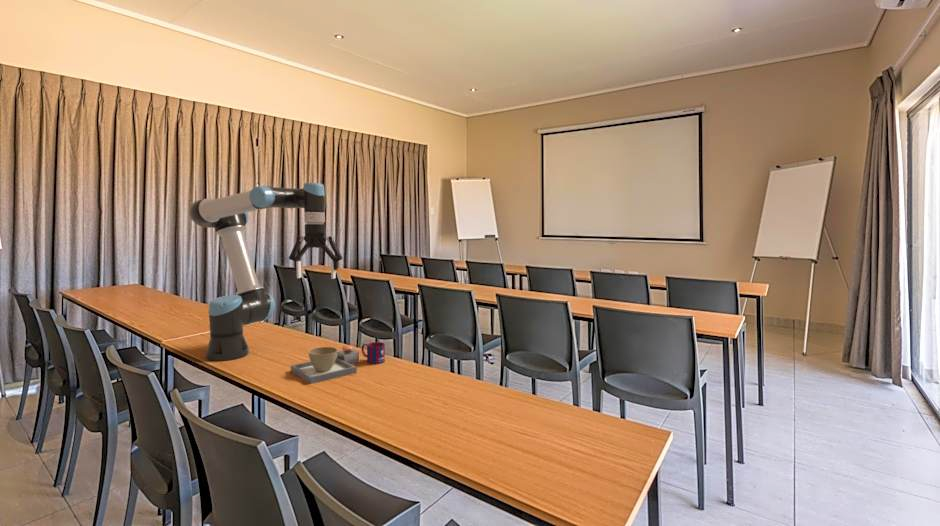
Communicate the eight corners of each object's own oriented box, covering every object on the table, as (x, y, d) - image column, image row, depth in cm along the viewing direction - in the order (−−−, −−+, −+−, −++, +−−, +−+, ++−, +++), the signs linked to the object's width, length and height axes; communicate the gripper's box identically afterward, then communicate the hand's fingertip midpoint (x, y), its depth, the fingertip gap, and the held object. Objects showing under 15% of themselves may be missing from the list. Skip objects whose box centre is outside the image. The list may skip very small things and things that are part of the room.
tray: (291, 371, 167) (290, 365, 167) (334, 361, 179) (334, 356, 179) (311, 383, 155) (310, 377, 155) (356, 372, 166) (356, 366, 166)
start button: (340, 355, 178) (340, 346, 178) (350, 353, 181) (349, 344, 180) (345, 357, 175) (345, 349, 175) (355, 355, 178) (355, 347, 177)
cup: (376, 365, 174) (376, 347, 174) (357, 360, 180) (357, 343, 179) (388, 360, 180) (388, 343, 179) (369, 356, 185) (369, 339, 185)
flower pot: (313, 376, 160) (312, 356, 159) (305, 368, 168) (305, 349, 167) (341, 371, 165) (341, 351, 165) (333, 363, 174) (332, 345, 173)
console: (337, 361, 178) (336, 351, 178) (351, 358, 182) (351, 348, 182) (344, 365, 174) (344, 355, 174) (358, 362, 178) (358, 352, 178)
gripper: (278, 223, 175) (280, 278, 177) (343, 224, 174) (344, 279, 176) (287, 223, 182) (289, 276, 185) (349, 223, 181) (350, 277, 184)
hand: (316, 278), depth 180 cm, fingers open, 13 cm apart
